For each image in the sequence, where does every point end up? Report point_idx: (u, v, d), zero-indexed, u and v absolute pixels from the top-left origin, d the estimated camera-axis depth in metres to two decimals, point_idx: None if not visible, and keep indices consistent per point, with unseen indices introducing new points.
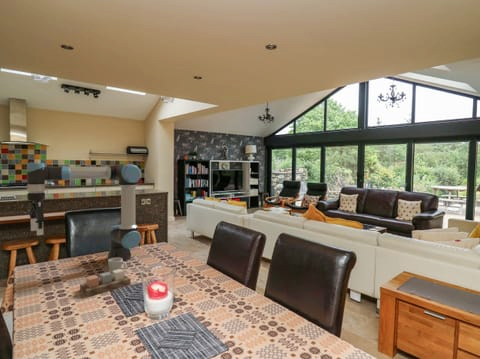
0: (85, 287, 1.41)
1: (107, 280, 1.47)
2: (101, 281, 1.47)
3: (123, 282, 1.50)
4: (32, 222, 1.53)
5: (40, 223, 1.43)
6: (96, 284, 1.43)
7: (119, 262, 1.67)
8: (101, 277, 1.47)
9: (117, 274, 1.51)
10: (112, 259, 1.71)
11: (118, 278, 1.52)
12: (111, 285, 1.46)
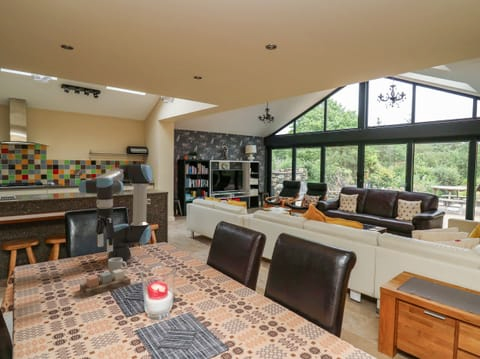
0: (85, 287, 1.41)
1: (107, 280, 1.47)
2: (101, 281, 1.47)
3: (123, 282, 1.50)
4: (99, 238, 1.51)
5: (111, 240, 1.42)
6: (96, 284, 1.43)
7: (119, 262, 1.67)
8: (101, 277, 1.47)
9: (117, 274, 1.51)
10: (112, 259, 1.71)
11: (118, 278, 1.52)
12: (111, 285, 1.46)
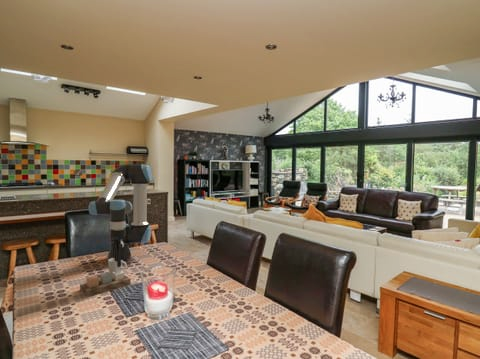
0: (85, 287, 1.41)
1: (107, 280, 1.47)
2: (101, 281, 1.47)
3: (123, 282, 1.50)
4: None
5: (119, 261, 1.52)
6: (96, 284, 1.43)
7: None
8: (101, 277, 1.47)
9: (117, 276, 1.51)
10: (112, 259, 1.71)
11: None
12: (111, 285, 1.46)
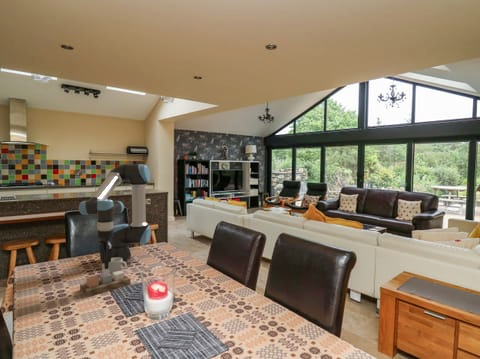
0: (85, 287, 1.41)
1: (107, 281, 1.47)
2: (101, 282, 1.47)
3: (123, 282, 1.50)
4: None
5: (106, 263, 1.47)
6: (96, 284, 1.43)
7: (119, 262, 1.67)
8: (101, 278, 1.47)
9: (117, 276, 1.51)
10: (112, 259, 1.71)
11: None
12: (111, 285, 1.46)
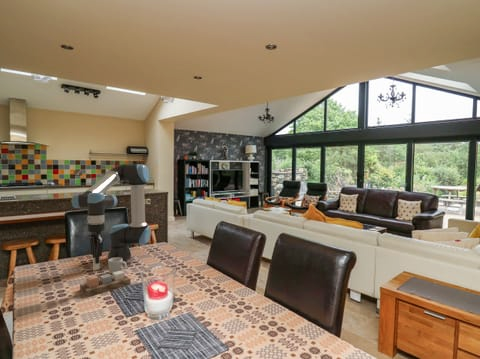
0: (85, 287, 1.41)
1: (107, 282, 1.47)
2: (101, 283, 1.47)
3: (123, 282, 1.50)
4: None
5: (97, 258, 1.43)
6: (96, 284, 1.43)
7: (119, 262, 1.67)
8: (101, 279, 1.47)
9: (117, 276, 1.51)
10: (112, 259, 1.71)
11: None
12: (111, 285, 1.46)
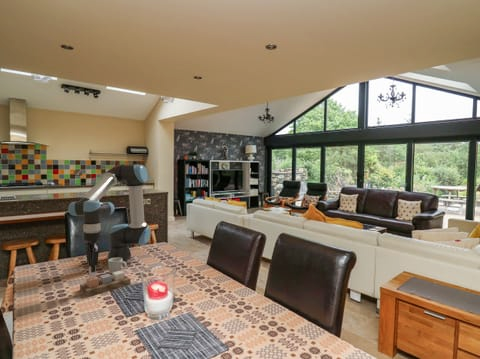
0: (85, 287, 1.41)
1: (107, 282, 1.47)
2: (101, 283, 1.47)
3: (123, 282, 1.50)
4: None
5: (93, 267, 1.42)
6: (96, 285, 1.43)
7: (119, 262, 1.67)
8: (101, 279, 1.47)
9: (117, 276, 1.51)
10: (112, 259, 1.71)
11: None
12: (111, 285, 1.46)
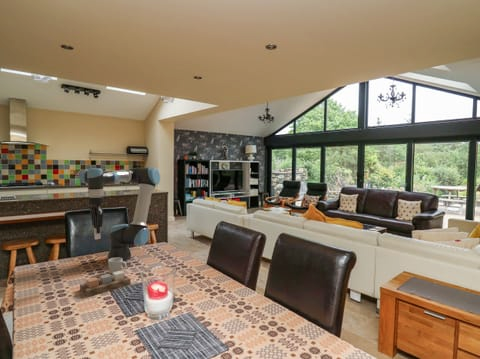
0: (85, 287, 1.41)
1: (107, 282, 1.47)
2: (101, 283, 1.47)
3: (123, 282, 1.50)
4: None
5: (98, 228, 1.56)
6: None
7: (119, 262, 1.67)
8: (101, 279, 1.47)
9: (117, 276, 1.51)
10: (112, 259, 1.71)
11: None
12: (111, 285, 1.46)
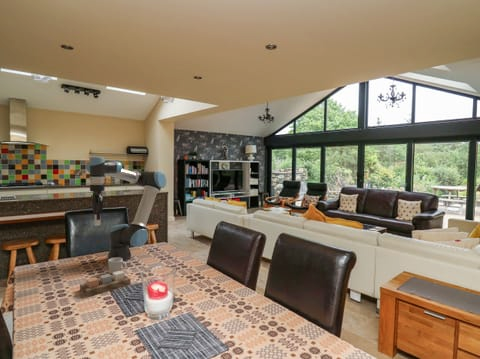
0: (85, 287, 1.41)
1: (107, 282, 1.47)
2: (101, 283, 1.47)
3: (123, 282, 1.50)
4: None
5: (98, 215, 1.61)
6: None
7: (119, 262, 1.67)
8: (101, 279, 1.47)
9: (117, 276, 1.51)
10: (112, 259, 1.71)
11: None
12: (111, 285, 1.46)
